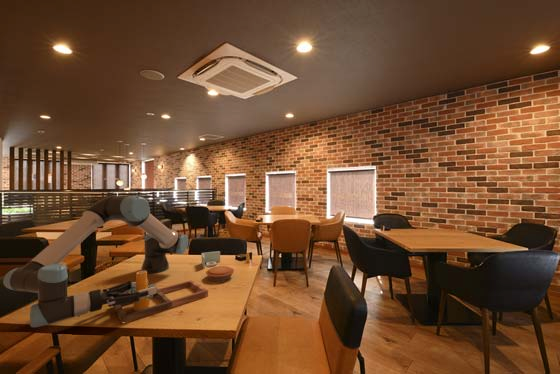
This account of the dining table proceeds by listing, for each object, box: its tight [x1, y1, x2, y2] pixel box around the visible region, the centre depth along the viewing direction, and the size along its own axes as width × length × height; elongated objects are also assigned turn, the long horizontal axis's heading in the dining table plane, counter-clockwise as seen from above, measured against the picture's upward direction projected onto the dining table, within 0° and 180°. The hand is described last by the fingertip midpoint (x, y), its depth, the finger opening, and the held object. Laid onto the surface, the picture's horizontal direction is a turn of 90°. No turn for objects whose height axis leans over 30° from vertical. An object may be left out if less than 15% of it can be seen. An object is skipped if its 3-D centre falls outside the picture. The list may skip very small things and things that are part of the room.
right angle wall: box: [201, 250, 221, 270], centre depth 162 cm, size 12×12×8 cm
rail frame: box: [112, 279, 209, 323], centre depth 111 cm, size 18×34×2 cm, turn 134°
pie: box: [205, 265, 235, 282], centre depth 140 cm, size 16×16×5 cm
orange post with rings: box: [125, 270, 158, 311], centre depth 105 cm, size 12×10×15 cm
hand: (152, 285), depth 108 cm, fingers closed on orange post with rings, 11 cm apart
